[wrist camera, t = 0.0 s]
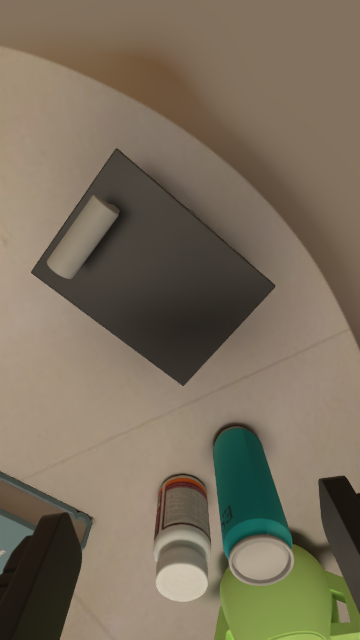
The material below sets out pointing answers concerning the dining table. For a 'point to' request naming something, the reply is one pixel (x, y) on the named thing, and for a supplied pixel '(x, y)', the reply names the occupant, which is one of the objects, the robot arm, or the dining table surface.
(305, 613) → the teapot
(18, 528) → the book
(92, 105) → the dining table surface
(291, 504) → the dining table surface
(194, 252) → the box lid
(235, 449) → the beverage can
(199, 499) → the pill bottle
